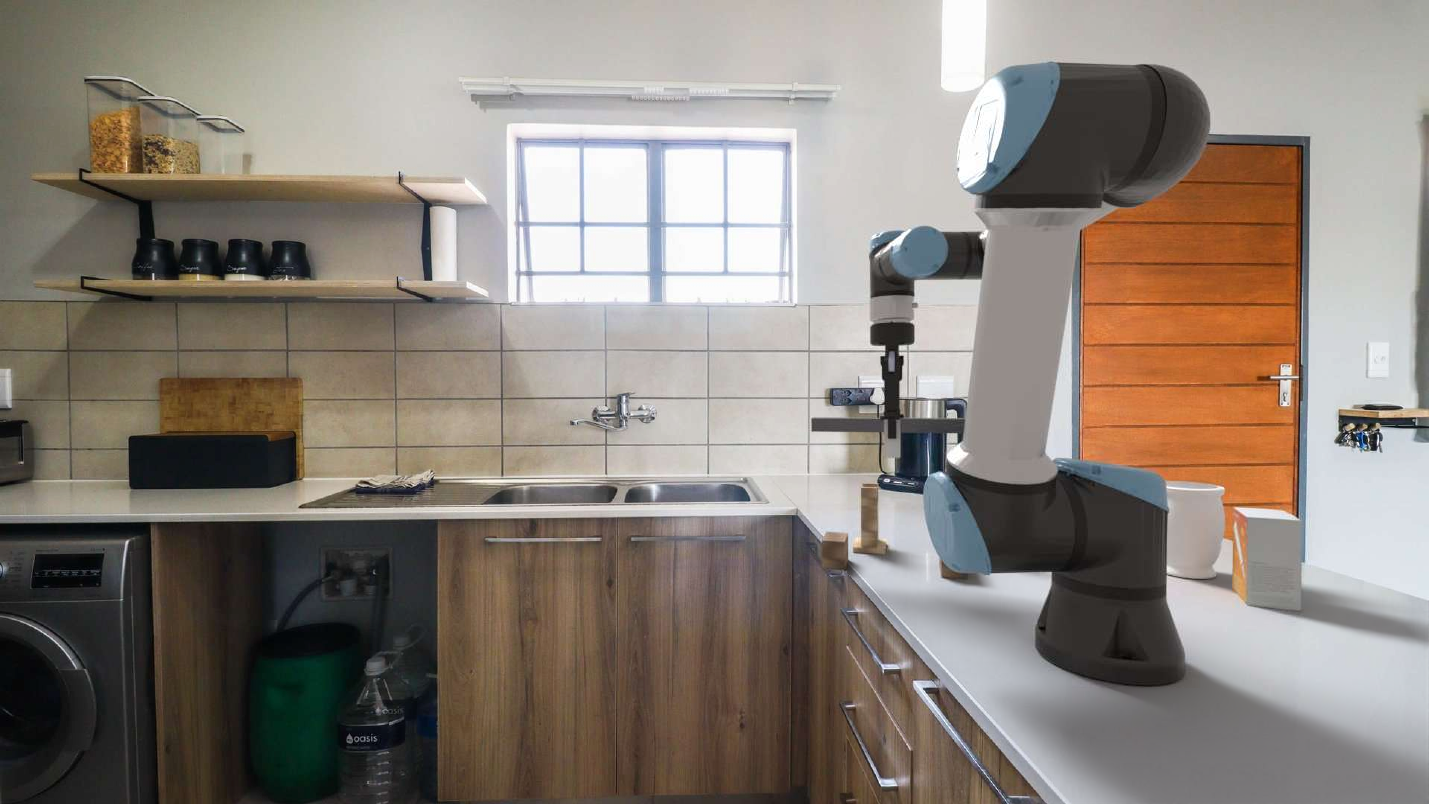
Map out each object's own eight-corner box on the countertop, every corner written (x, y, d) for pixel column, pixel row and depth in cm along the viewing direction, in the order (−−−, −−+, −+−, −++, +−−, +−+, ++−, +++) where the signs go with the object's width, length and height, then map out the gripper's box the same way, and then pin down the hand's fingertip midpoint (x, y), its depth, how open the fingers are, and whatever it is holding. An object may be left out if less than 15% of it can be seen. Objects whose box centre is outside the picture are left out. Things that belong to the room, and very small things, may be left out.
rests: (963, 567, 113) (963, 539, 113) (966, 578, 107) (966, 549, 107) (826, 558, 120) (826, 531, 120) (821, 568, 114) (821, 540, 113)
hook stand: (998, 550, 124) (998, 486, 124) (1004, 561, 117) (1004, 493, 116) (856, 542, 132) (855, 481, 132) (853, 552, 124) (852, 488, 124)
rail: (976, 432, 110) (976, 418, 110) (978, 433, 108) (978, 419, 107) (813, 430, 118) (813, 417, 118) (811, 431, 116) (811, 418, 115)
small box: (1231, 589, 100) (1232, 506, 100) (1283, 595, 97) (1285, 509, 97) (1245, 605, 93) (1246, 516, 93) (1302, 612, 90) (1303, 520, 90)
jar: (1151, 576, 107) (1151, 487, 106) (1143, 561, 116) (1143, 478, 116) (1231, 585, 102) (1232, 491, 102) (1216, 568, 111) (1217, 482, 111)
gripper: (915, 317, 104) (915, 462, 104) (914, 325, 119) (914, 451, 120) (867, 319, 106) (867, 461, 106) (872, 327, 121) (872, 451, 122)
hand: (892, 456), depth 113 cm, fingers closed on rail, 3 cm apart
